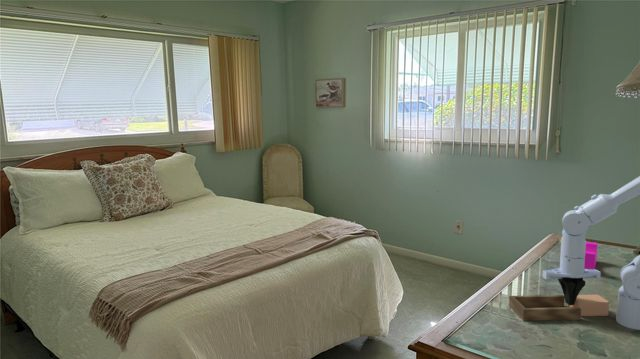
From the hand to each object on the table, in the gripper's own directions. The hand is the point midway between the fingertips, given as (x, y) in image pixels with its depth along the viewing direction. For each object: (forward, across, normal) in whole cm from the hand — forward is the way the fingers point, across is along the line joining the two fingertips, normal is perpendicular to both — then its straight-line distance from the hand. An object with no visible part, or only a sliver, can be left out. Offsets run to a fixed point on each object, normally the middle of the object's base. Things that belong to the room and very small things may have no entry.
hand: (569, 303), depth 121 cm
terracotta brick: (+3, -5, 0) cm, 6 cm away
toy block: (+3, -24, -34) cm, 42 cm away
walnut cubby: (+2, +6, 0) cm, 7 cm away
